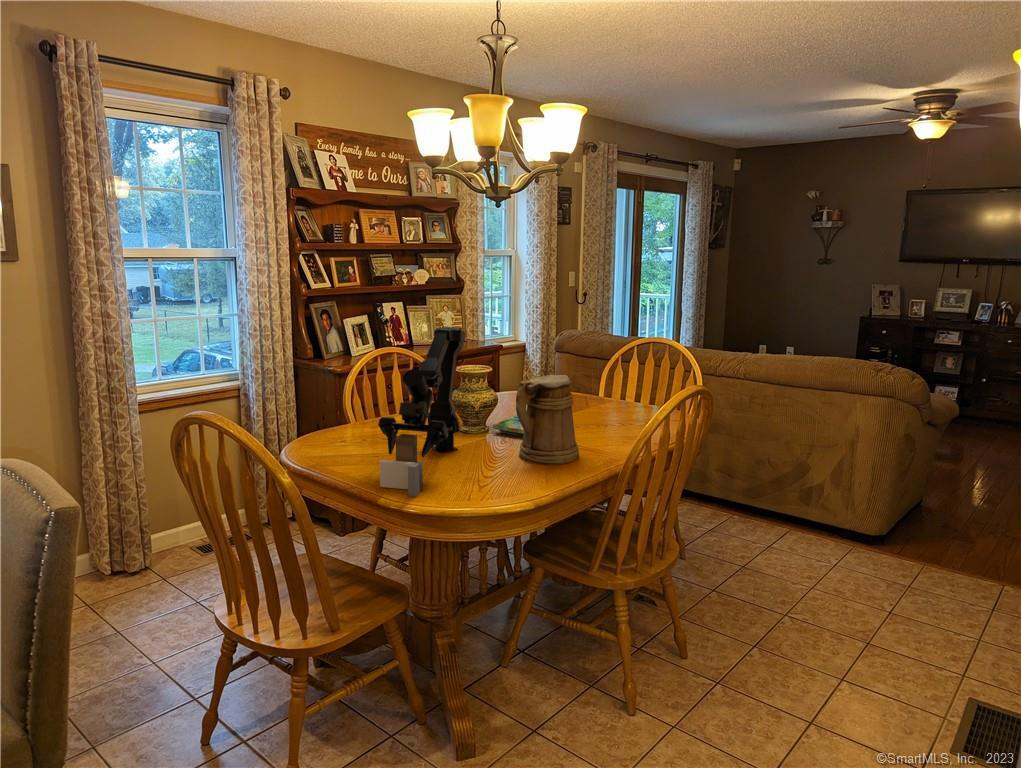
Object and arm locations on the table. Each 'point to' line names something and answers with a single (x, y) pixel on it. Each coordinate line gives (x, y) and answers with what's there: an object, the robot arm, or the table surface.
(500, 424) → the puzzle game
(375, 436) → the table surface
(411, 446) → the doorstop post
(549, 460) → the tankard
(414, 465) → the gray upright block
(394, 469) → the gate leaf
